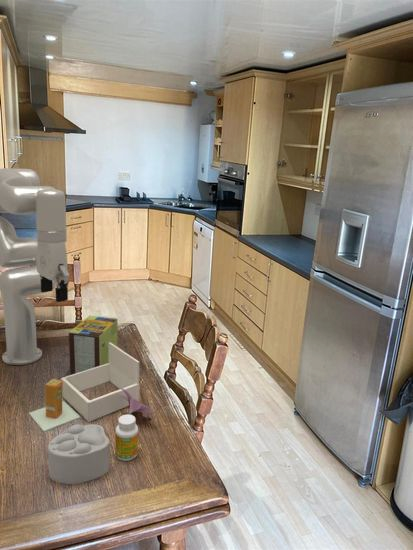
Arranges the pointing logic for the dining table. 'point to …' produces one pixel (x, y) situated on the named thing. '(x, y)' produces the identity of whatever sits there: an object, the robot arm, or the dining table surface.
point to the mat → (52, 423)
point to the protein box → (91, 343)
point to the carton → (117, 371)
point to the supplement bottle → (126, 438)
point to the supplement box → (54, 398)
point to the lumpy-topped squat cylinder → (79, 454)
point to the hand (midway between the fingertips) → (54, 296)
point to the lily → (136, 404)
